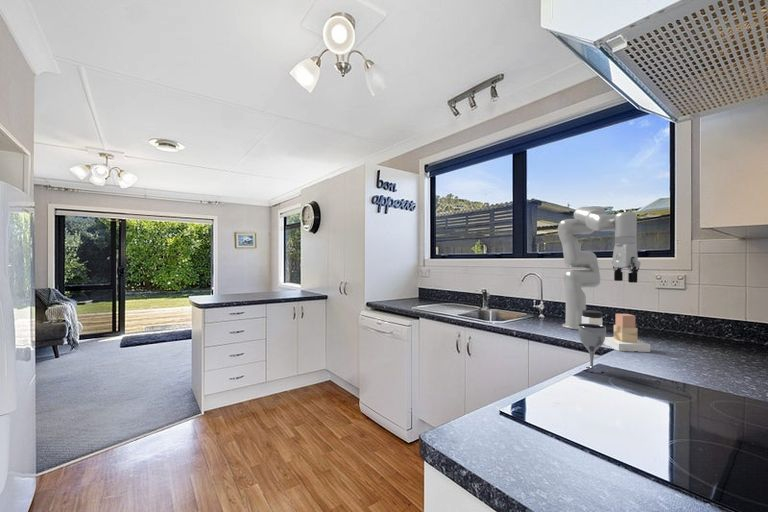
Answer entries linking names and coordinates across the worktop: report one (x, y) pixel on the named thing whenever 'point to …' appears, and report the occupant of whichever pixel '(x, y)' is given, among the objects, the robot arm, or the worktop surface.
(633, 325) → the terracotta cube
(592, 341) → the wine glass
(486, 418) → the worktop surface
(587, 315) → the jar
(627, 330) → the maple cube
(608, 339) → the plinth
